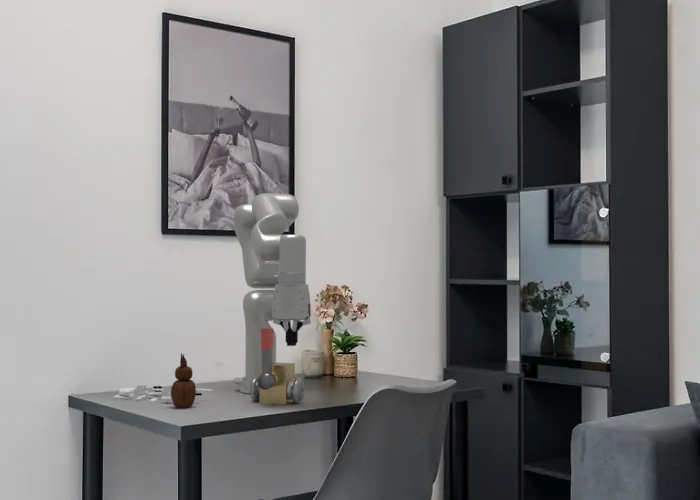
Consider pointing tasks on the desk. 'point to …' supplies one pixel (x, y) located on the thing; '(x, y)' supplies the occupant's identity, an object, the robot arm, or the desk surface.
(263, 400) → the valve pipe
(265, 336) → the lever
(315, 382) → the desk surface
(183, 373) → the wooden figurine
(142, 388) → the miniature set
